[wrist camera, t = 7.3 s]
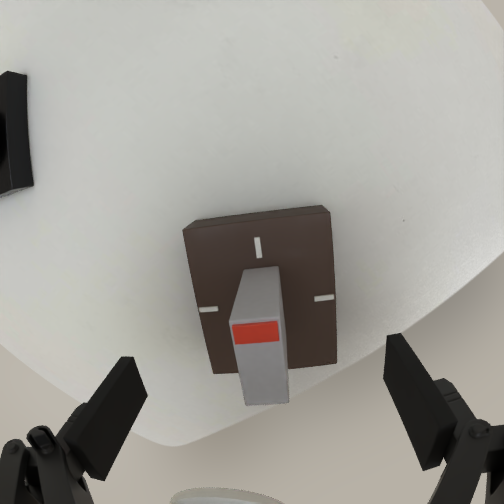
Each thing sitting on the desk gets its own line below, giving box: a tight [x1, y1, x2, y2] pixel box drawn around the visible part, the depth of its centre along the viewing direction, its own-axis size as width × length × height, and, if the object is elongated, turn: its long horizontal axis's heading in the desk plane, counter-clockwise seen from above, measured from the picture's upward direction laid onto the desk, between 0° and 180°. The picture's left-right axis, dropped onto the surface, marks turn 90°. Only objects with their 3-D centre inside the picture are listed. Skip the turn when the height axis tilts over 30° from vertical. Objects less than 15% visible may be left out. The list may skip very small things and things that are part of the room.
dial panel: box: [182, 205, 337, 374], centre depth 24 cm, size 12×10×4 cm
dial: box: [229, 266, 289, 406], centre depth 19 cm, size 6×2×8 cm, turn 8°
